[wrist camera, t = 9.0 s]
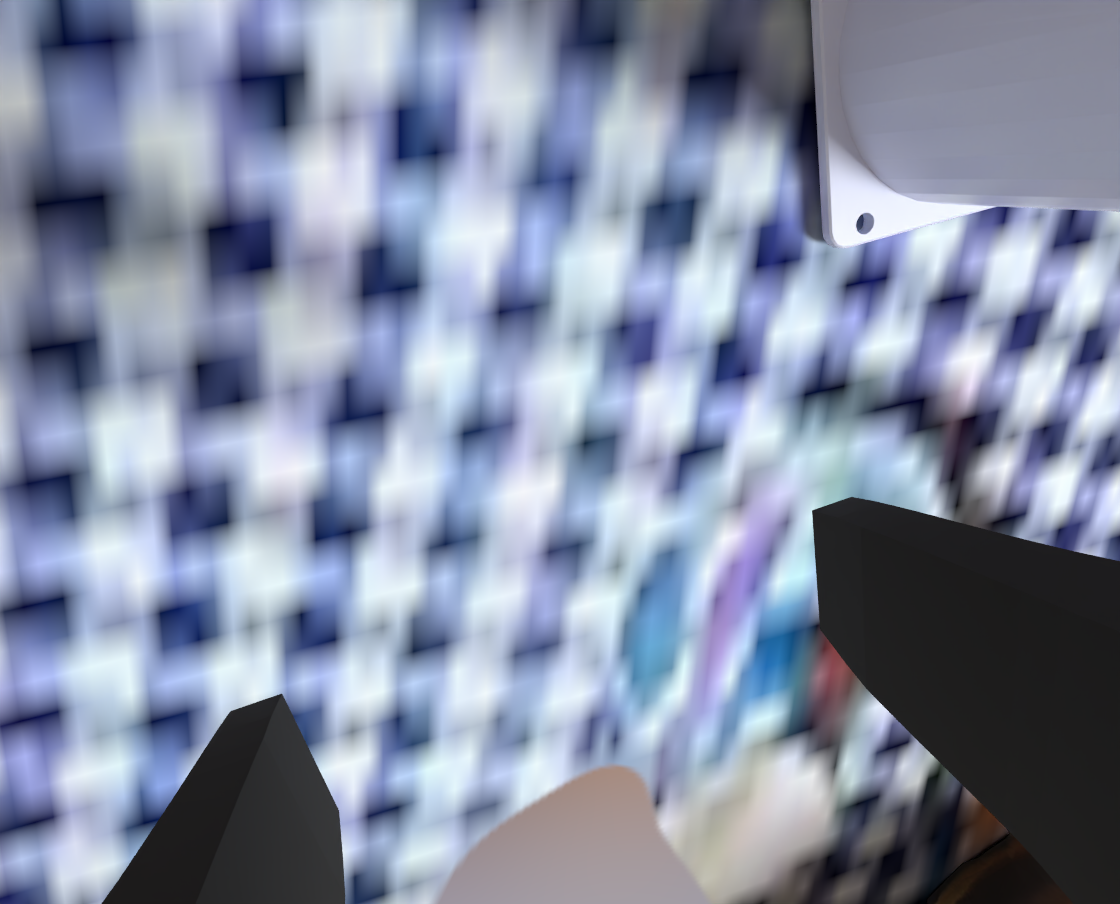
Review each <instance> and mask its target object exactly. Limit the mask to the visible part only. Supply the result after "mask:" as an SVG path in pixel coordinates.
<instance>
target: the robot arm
mask: <svg viewBox="0 0 1120 904" xmlns="http://www.w3.org/2000/svg"><path fill="white" fill-rule="evenodd" d="M811 18H812V37H813V57H814V77H815V97H816V116H817V136H818V156H819V176H820V195H821V215H822V233H823V237H824V240H825V241H826V242H827V244H828V245H830V246H832V247H836V248H849V247H853V246H856V245H860V244H863V243H867V242H871V241H874V240H878V239H881V238H885V237H889V236H892V235H896V234H899V233H903V232H907V231H910V230H914V229H917V228H921V227H925V226H928V225H932V224H935V223H939V222H943V221H946V220H950V219H953V218H957V217H961V216H964V215H968V214H971V213H975V212H979V211H982V210H986V209H989V208H993V207H997V206H1000V207H1023V208H1047V209H1070V210H1093V211H1116V212H1120V0H811ZM860 215H863V218H864V223H863V227H862V228H861V230H860V231H857V228H856V223H857V220H858V218H859V217H860ZM812 514H813V529H814V544H815V559H816V574H817V589H818V604H819V619H820V629H821V631H822V632H823V633H824V635H825V636H826V637H827V639H828V640H829V641H830V643H831V644H832V645H833V647H834V648H835V649H836V651H837V652H838V653H839V655H840V656H841V657H842V659H843V660H844V661H845V663H846V664H847V665H848V666H849V668H850V669H851V670H852V671H853V673H854V674H855V675H856V676H857V678H858V679H859V680H860V681H861V682H862V684H863V685H864V686H865V687H866V689H867V690H868V691H869V692H870V693H871V694H872V695H873V696H874V697H875V698H876V699H877V700H878V701H879V702H880V703H881V704H882V705H883V706H884V707H885V708H886V709H887V710H888V711H889V712H890V713H891V714H892V715H893V716H894V717H895V718H896V719H897V720H898V721H899V722H900V723H901V724H902V725H903V726H904V727H905V728H906V729H907V730H908V731H909V732H910V733H911V734H912V735H913V736H914V737H915V738H916V739H917V740H918V741H919V742H920V743H921V744H922V745H923V746H924V747H925V748H926V749H927V750H928V751H929V752H930V753H931V754H932V755H933V756H934V757H935V758H936V759H937V760H938V761H939V762H940V763H941V764H942V765H943V766H944V767H945V768H946V769H947V770H948V771H949V772H950V773H951V774H952V775H953V776H954V777H955V778H956V779H957V780H958V781H959V782H960V783H961V784H962V785H963V786H964V787H965V788H966V789H967V790H968V791H969V792H970V793H971V794H972V795H973V796H974V797H975V798H976V799H977V800H978V801H979V802H980V803H981V804H983V805H984V806H985V807H986V808H987V809H988V810H989V811H990V812H991V813H992V814H993V815H994V816H995V817H996V818H997V819H998V820H999V821H1000V822H1001V823H1002V824H1003V825H1004V826H1005V827H1006V828H1007V830H1008V831H1009V832H1010V833H1011V834H1012V835H1013V836H1014V837H1015V838H1016V839H1017V840H1018V841H1019V842H1020V843H1021V844H1022V845H1023V847H1024V848H1025V849H1026V850H1027V851H1028V852H1029V853H1030V854H1031V855H1032V856H1033V857H1034V858H1035V859H1036V860H1037V862H1038V863H1039V864H1040V865H1041V866H1042V867H1043V869H1044V870H1045V871H1046V872H1047V873H1048V874H1049V876H1050V877H1051V878H1052V879H1053V880H1054V882H1055V883H1056V884H1057V885H1058V886H1059V887H1060V889H1061V890H1062V891H1063V892H1064V893H1065V894H1066V896H1067V897H1068V898H1069V899H1070V900H1071V902H1072V903H1073V904H1120V561H1116V560H1111V559H1107V558H1102V557H1097V556H1093V555H1088V554H1083V553H1079V552H1074V551H1070V550H1066V549H1062V548H1057V547H1053V546H1049V545H1045V544H1041V543H1037V542H1032V541H1028V540H1024V539H1020V538H1016V537H1012V536H1009V535H1005V534H1001V533H997V532H993V531H989V530H985V529H981V528H978V527H974V526H970V525H966V524H962V523H958V522H955V521H951V520H947V519H943V518H939V517H936V516H932V515H928V514H924V513H920V512H916V511H913V510H909V509H905V508H900V507H896V506H892V505H888V504H884V503H880V502H875V501H870V500H865V499H860V498H854V497H850V498H847V499H844V500H841V501H838V502H836V503H833V504H830V505H827V506H824V507H821V508H818V509H815V510H812ZM102 904H345V886H344V869H343V854H342V842H341V830H340V818H339V810H338V808H337V806H336V804H335V802H334V800H333V798H332V796H331V793H330V791H329V789H328V787H327V785H326V783H325V781H324V779H323V777H322V775H321V773H320V771H319V769H318V767H317V765H316V763H315V761H314V758H313V756H312V754H311V752H310V750H309V748H308V746H307V744H306V742H305V740H304V738H303V736H302V734H301V732H300V730H299V728H298V726H297V724H296V721H295V719H294V717H293V715H292V713H291V711H290V709H289V707H288V705H287V703H286V701H285V699H284V697H283V695H282V694H279V695H277V696H274V697H271V698H268V699H265V700H262V701H259V702H256V703H253V704H250V705H248V706H245V707H242V708H239V709H236V710H233V711H230V713H229V714H228V716H227V717H226V718H225V720H224V721H223V723H222V724H221V726H220V727H219V729H218V730H217V732H216V733H215V735H214V736H213V738H212V739H211V741H210V742H209V744H208V745H207V747H206V748H205V750H204V751H203V753H202V754H201V756H200V758H199V759H198V761H197V762H196V764H195V765H194V767H193V768H192V770H191V772H190V773H189V775H188V776H187V778H186V779H185V781H184V782H183V784H182V785H181V787H180V789H179V790H178V792H177V793H176V795H175V796H174V798H173V799H172V801H171V802H170V804H169V805H168V807H167V808H166V810H165V811H164V813H163V814H162V816H161V817H160V819H159V820H158V822H157V823H156V825H155V826H154V828H153V829H152V831H151V832H150V834H149V835H148V837H147V838H146V840H145V841H144V843H143V844H142V846H141V847H140V849H139V850H138V852H137V853H136V855H135V856H134V858H133V859H132V861H131V862H130V864H129V865H128V867H127V868H126V870H125V871H124V873H123V874H122V876H121V877H120V879H119V880H118V882H117V883H116V884H115V886H114V887H113V889H112V890H111V891H110V893H109V894H108V896H107V897H106V898H105V900H104V901H103V902H102Z"/></svg>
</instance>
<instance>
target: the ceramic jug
mask: <svg viewBox="0 0 1120 904" xmlns="http://www.w3.org/2000/svg"><path fill="white" fill-rule="evenodd" d="M927 904H1073V903H1072V902H1071V900H1070V899H1069V898H1068V897H1067V896H1066V894H1065V893H1064V892H1063V891H1062V890H1061V889H1060V887H1059V886H1058V885H1057V884H1056V883H1055V882H1054V880H1053V879H1052V878H1051V877H1050V876H1049V874H1048V873H1047V872H1046V871H1045V870H1044V869H1043V867H1042V866H1041V865H1040V864H1039V863H1038V862H1037V860H1036V859H1035V858H1034V857H1033V856H1032V855H1031V854H1030V853H1029V852H1028V851H1027V850H1026V849H1025V848H1024V847H1023V845H1022V844H1021V843H1020V842H1019V841H1018V840H1017V839H1016V838H1015V837H1014V836H1013V835H1012V834H1011V833H1010V834H1009V835H1008V836H1007V837H1006V838H1005V839H1004V840H1003V841H1001V842H1000V843H998V844H997V845H995V846H994V847H992V848H991V849H989V850H988V851H987V852H985V853H984V854H983V855H981V856H980V857H978V858H976V859H973V860H971V861H968V862H965V863H963V864H962V865H961V866H960V867H959V868H958V869H957V870H956V871H955V872H954V873H953V874H952V875H951V876H950V877H949V878H948V879H947V880H946V881H945V882H944V883H943V884H942V885H941V886H940V887H939V888H938V889H937V890H936V891H935V892H934V893H933V894H932V895H931V896H930V897H929V898H928V899H927Z"/></svg>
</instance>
